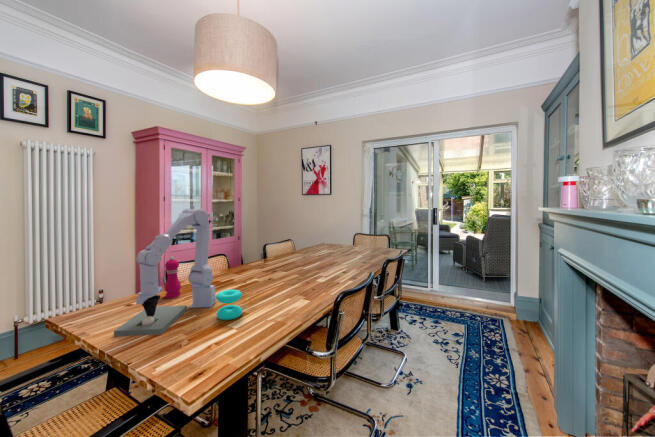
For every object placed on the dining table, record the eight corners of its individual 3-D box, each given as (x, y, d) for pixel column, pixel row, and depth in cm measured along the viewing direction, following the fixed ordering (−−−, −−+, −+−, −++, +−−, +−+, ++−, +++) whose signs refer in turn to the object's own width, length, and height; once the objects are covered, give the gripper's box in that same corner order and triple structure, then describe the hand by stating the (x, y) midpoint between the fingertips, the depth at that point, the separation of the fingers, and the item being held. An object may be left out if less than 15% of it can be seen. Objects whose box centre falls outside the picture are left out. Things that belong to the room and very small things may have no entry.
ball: (150, 318, 102) (150, 329, 102) (156, 314, 106) (156, 325, 106) (139, 318, 102) (139, 329, 102) (146, 314, 106) (145, 325, 106)
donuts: (213, 291, 115) (238, 287, 121) (214, 314, 116) (238, 309, 121) (218, 298, 107) (244, 293, 112) (219, 323, 107) (245, 317, 113)
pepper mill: (161, 297, 136) (159, 257, 134) (174, 293, 142) (173, 254, 141) (171, 299, 133) (170, 258, 132) (184, 294, 140) (183, 255, 138)
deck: (187, 310, 120) (186, 305, 120) (162, 334, 98) (161, 328, 98) (148, 311, 119) (148, 306, 118) (114, 336, 97) (113, 330, 97)
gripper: (148, 276, 112) (149, 308, 113) (126, 287, 97) (128, 324, 98) (167, 275, 113) (168, 308, 113) (147, 286, 98) (148, 323, 99)
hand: (150, 315), depth 106 cm, fingers closed
